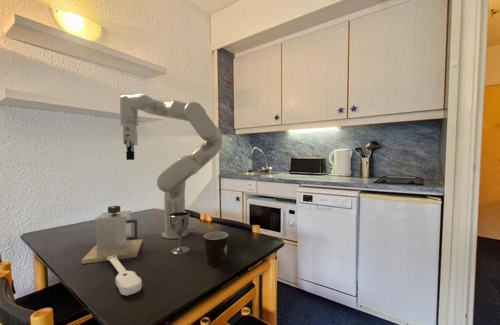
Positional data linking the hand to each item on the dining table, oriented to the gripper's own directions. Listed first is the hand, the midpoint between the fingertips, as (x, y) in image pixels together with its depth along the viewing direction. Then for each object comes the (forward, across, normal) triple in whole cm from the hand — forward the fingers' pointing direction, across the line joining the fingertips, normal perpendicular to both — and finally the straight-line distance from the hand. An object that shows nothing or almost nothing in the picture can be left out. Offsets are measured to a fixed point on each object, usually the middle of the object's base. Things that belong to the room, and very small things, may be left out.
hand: (130, 159), depth 113 cm
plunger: (+35, -20, +3) cm, 40 cm away
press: (+37, -20, +3) cm, 42 cm away
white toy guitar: (+37, -43, -4) cm, 57 cm away
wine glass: (+37, -27, -22) cm, 51 cm away
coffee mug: (+37, -44, -33) cm, 67 cm away
